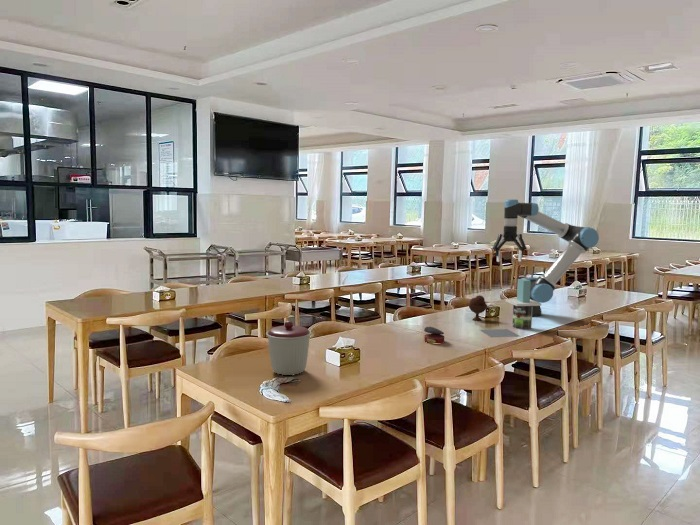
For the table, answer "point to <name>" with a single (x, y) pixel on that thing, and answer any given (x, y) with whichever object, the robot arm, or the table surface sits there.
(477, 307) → the ice cream bowl
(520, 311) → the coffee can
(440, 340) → the canned food
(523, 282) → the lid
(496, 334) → the mat
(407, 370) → the table surface
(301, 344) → the canister
